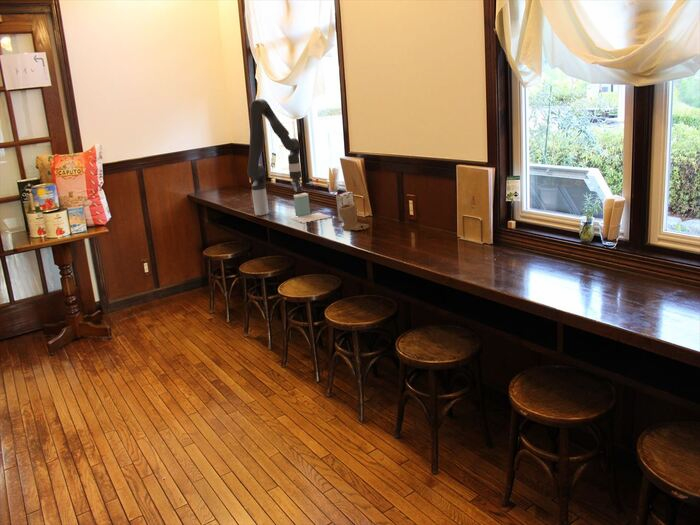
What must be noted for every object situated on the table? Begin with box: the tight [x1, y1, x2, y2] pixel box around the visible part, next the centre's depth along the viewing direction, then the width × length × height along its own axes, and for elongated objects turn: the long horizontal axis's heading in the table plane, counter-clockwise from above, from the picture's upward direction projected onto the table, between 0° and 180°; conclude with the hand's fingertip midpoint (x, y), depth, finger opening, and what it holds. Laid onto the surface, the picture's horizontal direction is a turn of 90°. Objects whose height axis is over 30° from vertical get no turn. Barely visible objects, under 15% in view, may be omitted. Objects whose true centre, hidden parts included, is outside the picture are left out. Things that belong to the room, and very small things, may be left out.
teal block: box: [293, 192, 311, 217], centre depth 399 cm, size 5×8×14 cm, turn 120°
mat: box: [290, 212, 332, 224], centre depth 392 cm, size 17×20×1 cm
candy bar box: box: [335, 191, 355, 223], centre depth 377 cm, size 11×5×16 cm, turn 143°
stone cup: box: [339, 203, 370, 231], centre depth 352 cm, size 15×12×15 cm
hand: (298, 197), depth 402 cm, fingers closed
